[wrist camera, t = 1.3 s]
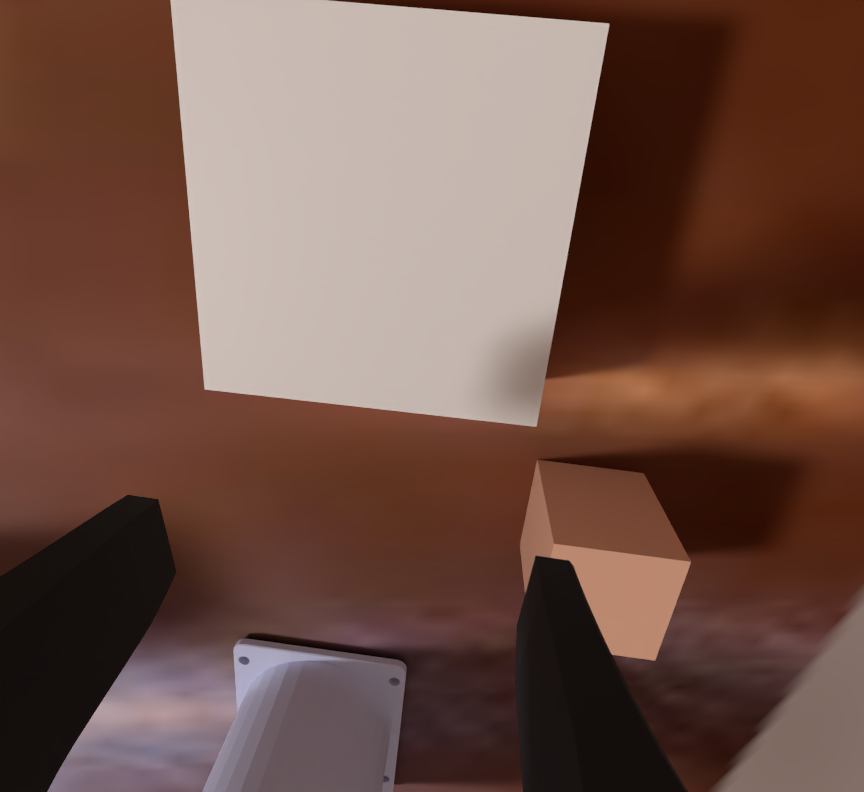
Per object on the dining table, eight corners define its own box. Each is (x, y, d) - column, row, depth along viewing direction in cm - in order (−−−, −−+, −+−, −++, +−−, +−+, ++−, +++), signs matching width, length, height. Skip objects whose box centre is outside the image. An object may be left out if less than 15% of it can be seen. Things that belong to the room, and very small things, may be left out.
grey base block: (525, 378, 20) (536, 426, 16) (254, 348, 20) (204, 389, 16) (579, 56, 16) (609, 23, 12) (240, 28, 16) (169, -13, 12)
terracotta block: (618, 557, 22) (655, 660, 17) (519, 544, 22) (530, 643, 18) (643, 472, 20) (691, 561, 16) (537, 459, 21) (553, 543, 16)
